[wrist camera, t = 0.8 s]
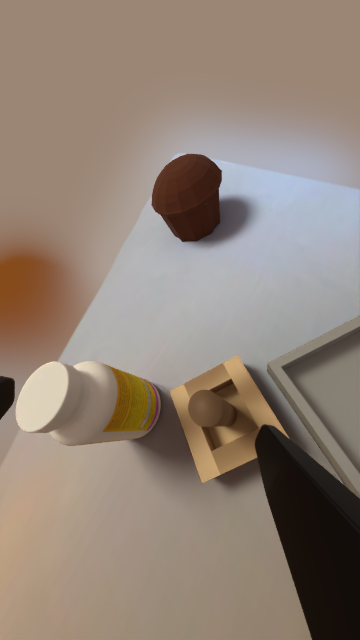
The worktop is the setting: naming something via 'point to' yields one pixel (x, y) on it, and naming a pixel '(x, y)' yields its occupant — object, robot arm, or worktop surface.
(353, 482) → the tray
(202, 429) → the holder
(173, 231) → the muffin
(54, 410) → the supplement bottle
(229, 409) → the pin
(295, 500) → the robot arm
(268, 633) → the worktop surface
